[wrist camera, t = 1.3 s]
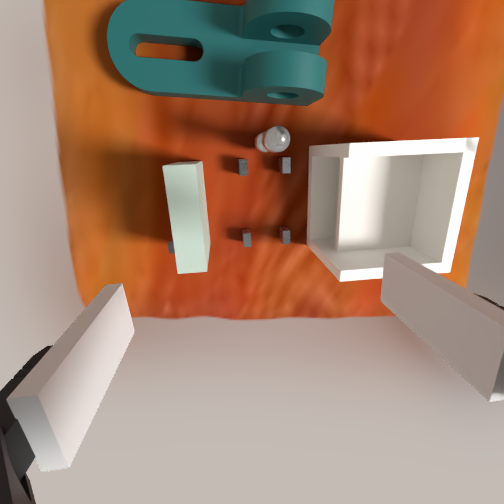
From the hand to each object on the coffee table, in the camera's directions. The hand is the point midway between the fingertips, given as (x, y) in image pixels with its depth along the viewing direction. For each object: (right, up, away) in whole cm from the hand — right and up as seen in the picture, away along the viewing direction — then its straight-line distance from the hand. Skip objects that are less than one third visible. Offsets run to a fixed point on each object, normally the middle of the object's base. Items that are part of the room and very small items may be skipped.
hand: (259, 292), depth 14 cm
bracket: (-4, +20, +12) cm, 24 cm away
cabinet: (+11, +8, +18) cm, 22 cm away
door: (-7, +7, +16) cm, 19 cm away
